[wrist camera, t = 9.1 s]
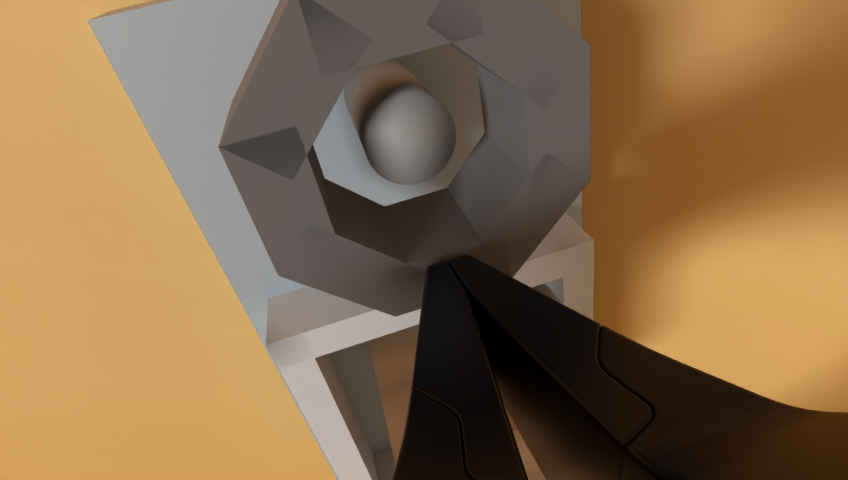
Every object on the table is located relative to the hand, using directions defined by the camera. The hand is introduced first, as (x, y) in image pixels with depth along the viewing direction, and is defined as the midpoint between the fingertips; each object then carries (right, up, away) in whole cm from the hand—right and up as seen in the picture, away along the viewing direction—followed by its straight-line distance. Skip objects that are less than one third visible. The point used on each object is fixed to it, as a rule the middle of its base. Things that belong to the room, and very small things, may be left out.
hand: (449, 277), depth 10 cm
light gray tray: (-1, 0, +7) cm, 7 cm away
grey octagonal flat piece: (-1, +3, +1) cm, 3 cm away
